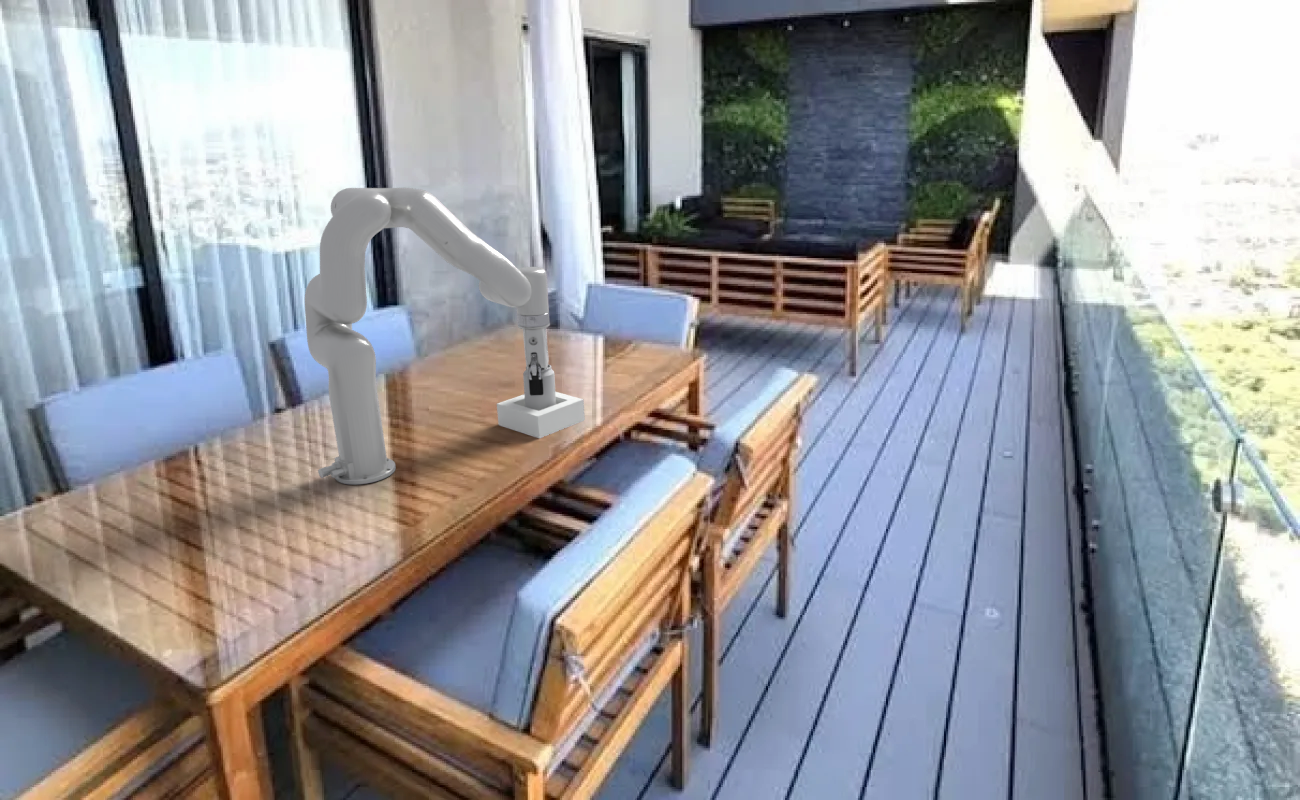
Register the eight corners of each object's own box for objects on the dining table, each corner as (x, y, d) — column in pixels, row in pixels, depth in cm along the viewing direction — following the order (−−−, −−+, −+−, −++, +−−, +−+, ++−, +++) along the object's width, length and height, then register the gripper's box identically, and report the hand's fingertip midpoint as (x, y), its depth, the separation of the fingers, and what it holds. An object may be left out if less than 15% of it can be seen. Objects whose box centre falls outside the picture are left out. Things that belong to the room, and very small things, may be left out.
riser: (539, 440, 198) (537, 416, 196) (498, 426, 207) (496, 403, 205) (584, 422, 208) (583, 399, 206) (543, 409, 218) (542, 388, 216)
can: (551, 418, 202) (549, 370, 199) (521, 417, 204) (518, 369, 200) (559, 408, 209) (557, 362, 206) (530, 407, 211) (528, 361, 207)
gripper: (547, 328, 191) (551, 399, 196) (551, 311, 207) (554, 377, 213) (514, 329, 190) (519, 400, 196) (520, 312, 207) (525, 378, 212)
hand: (538, 388), depth 204 cm, fingers open, 9 cm apart
